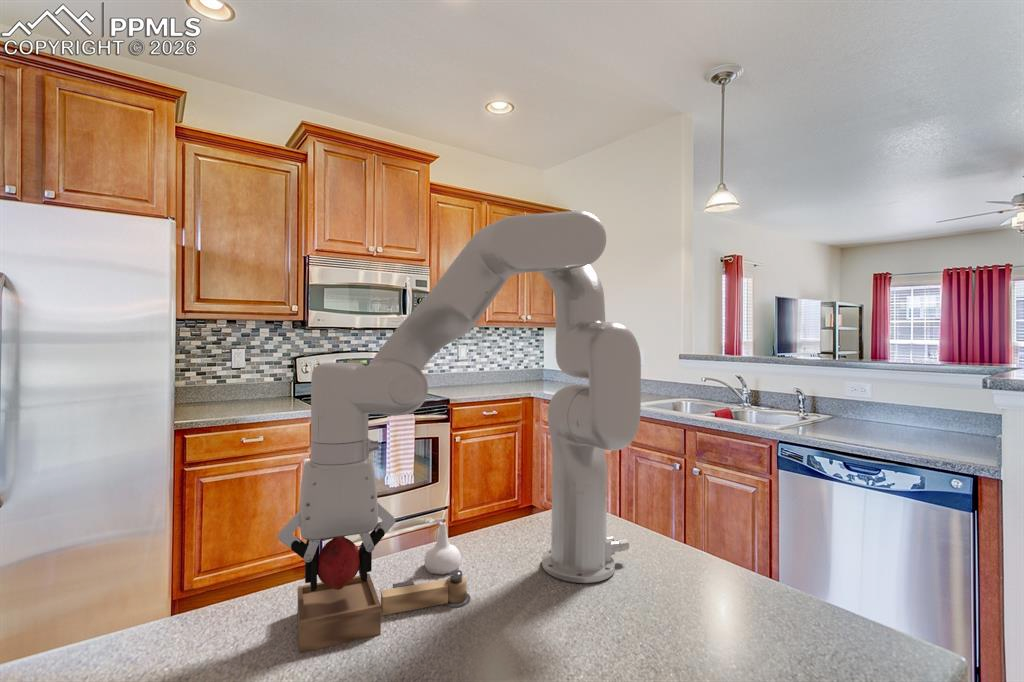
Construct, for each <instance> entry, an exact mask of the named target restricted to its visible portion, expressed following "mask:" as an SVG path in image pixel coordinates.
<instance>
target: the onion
mask: <svg viewBox="0 0 1024 682" xmlns="http://www.w3.org/2000/svg"><path fill="white" fill-rule="evenodd" d="M318 553H319V554H318V556H317V557H316V558H317V578H319V580H320V582H323V583H324V584H325V585H327V586H329V587H331V588H334V589H336V590H340V589H342V588H343V587H344V586H345V585H346V584H347V583H349V582H350V581H351V580H352V579H353V578H354V577H355V576H357V574H358V573H359V567H360V562H361V555H360V552H359V547H358V546H357V545H356V544H355V543H354V542H353V541H352V540H350V539H349V538H347V537H346V536H343V537H336V538H331V540H329V541H328V542H326V544H324V546H323V547H322V548H321V550H320V552H318Z"/></svg>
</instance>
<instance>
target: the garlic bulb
mask: <svg viewBox="0 0 1024 682" xmlns="http://www.w3.org/2000/svg"><path fill="white" fill-rule="evenodd" d="M438 523H439V526H438V533H437V539H436V543H435V544H434V545H433V546H430V548H429V549H428V550H427V551H426V553H425V557H424V566H425V568H426V570H427V572H429V573H431V574H433V575H448V574H450V572H451V571H453V570H459V568H460V566H461V565H462V555H461V552H460V551H459V549H458V548H457V546H456V545H454V544H451V543H450V541H449V537H448V531H447V525H446V524H447V522H441V521H440V522H438ZM447 573H448V574H447Z"/></svg>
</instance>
